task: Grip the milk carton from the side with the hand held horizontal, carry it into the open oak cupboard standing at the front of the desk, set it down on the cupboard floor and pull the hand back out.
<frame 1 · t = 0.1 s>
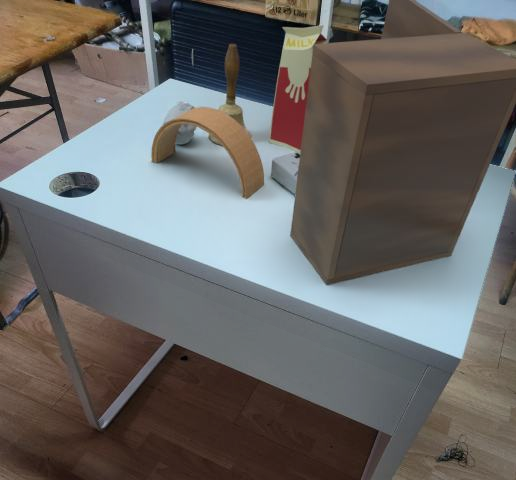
arch: (206, 174, 87), on the table
cupboard door: (416, 102, 79), point 13 cm above the table, hinge at 100.0°
hand bell: (230, 138, 96), on the table
cupboard: (369, 246, 75), on the table
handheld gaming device: (318, 180, 87), on the table
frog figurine: (182, 143, 94), on the table
milk carton: (295, 140, 97), on the table
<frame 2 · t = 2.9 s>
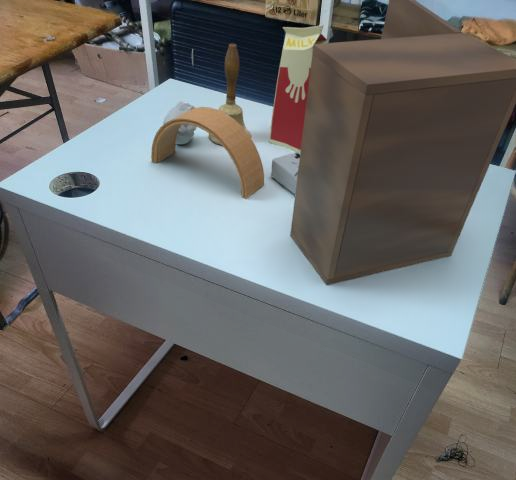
nothing on the table moved.
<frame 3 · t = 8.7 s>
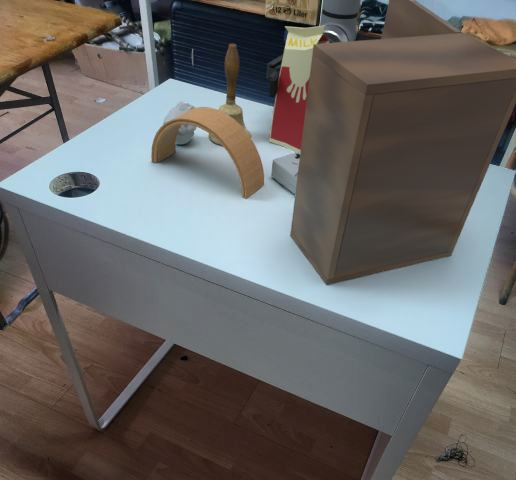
hand: (296, 93, 85), 11 cm above the table, tool horizontal, fingers closed on milk carton, 8 cm apart
milk carton: (295, 140, 97), on the table, touching gripper
everything else where it was.
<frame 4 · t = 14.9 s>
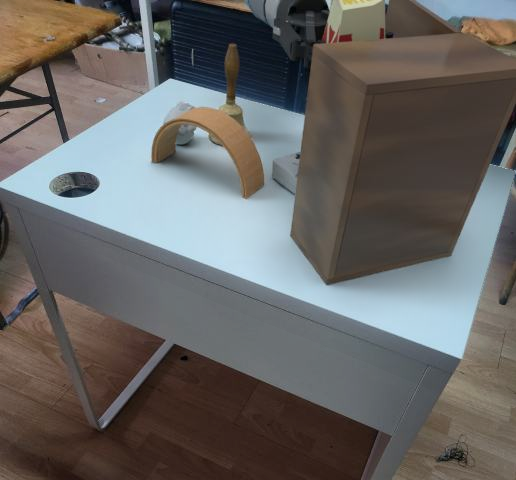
hand: (372, 66, 64), 22 cm above the table, tool horizontal, fingers closed on milk carton, 8 cm apart
milk carton: (335, 130, 75), point 11 cm above the table, touching gripper
everything else where it was.
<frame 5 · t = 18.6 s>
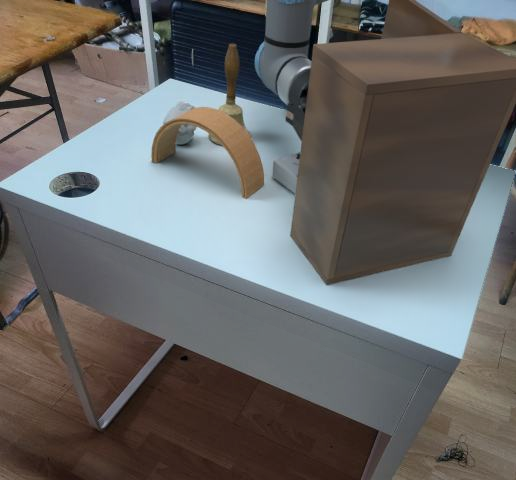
hand: (382, 158, 66), 13 cm above the table, tool horizontal, fingers closed on milk carton, 8 cm apart
milk carton: (340, 193, 78), point 3 cm above the table, touching gripper
everything else where it was.
when the fingers open (11 cm above the table, at t = 21.8 s): milk carton stays where it is, resting on cupboard.
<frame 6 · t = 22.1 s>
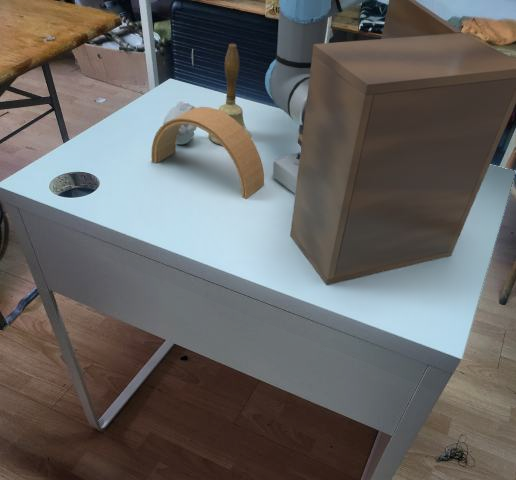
hand: (399, 183, 64), 12 cm above the table, tool horizontal, fingers open, 12 cm apart
milk carton: (356, 228, 76), point 1 cm above the table, touching cupboard
everything else where it was.
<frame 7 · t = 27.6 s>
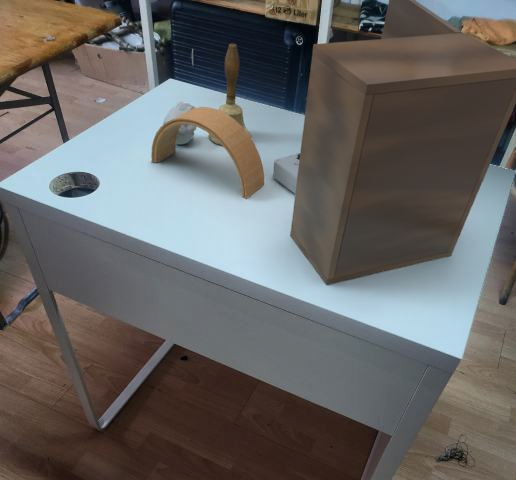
nothing on the table moved.
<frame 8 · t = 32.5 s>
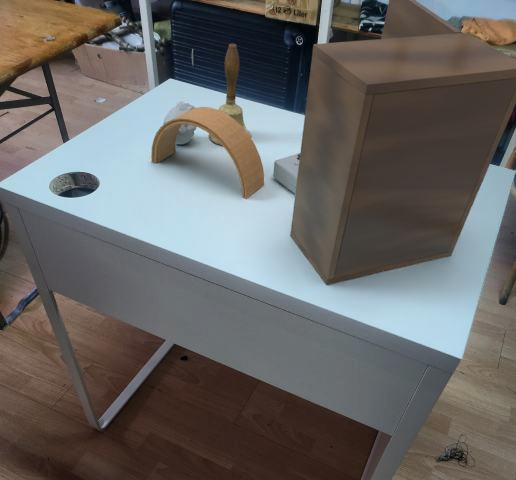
nothing on the table moved.
at the end: milk carton inside the target area in the cupboard (3.6 cm from its centre), point 0.8 cm above the cupboard's base; milk carton tilted 0°; the gripper is holding nothing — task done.
